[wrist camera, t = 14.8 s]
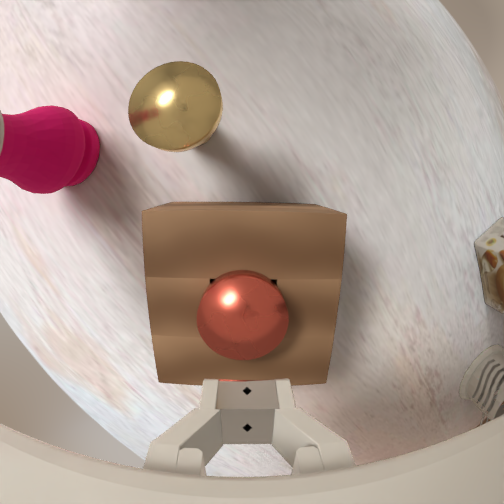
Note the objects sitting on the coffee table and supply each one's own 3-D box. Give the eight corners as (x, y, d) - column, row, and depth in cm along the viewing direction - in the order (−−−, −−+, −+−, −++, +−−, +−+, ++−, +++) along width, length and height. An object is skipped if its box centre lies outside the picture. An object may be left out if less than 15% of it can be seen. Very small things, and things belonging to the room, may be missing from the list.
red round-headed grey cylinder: (211, 243, 25) (194, 277, 16) (273, 244, 25) (291, 278, 16) (212, 302, 26) (198, 359, 17) (271, 302, 26) (285, 359, 17)
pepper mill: (82, 100, 22) (-85, 37, 2) (119, 154, 23) (-83, 130, 4) (35, 152, 22) (-132, 152, 3) (67, 206, 24) (-116, 257, 4)
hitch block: (172, 202, 24) (141, 211, 17) (315, 204, 25) (347, 214, 17) (178, 331, 27) (158, 382, 19) (305, 332, 27) (325, 383, 20)
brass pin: (167, 103, 22) (132, 66, 14) (228, 101, 23) (222, 59, 14) (165, 162, 24) (125, 151, 15) (227, 160, 24) (219, 147, 15)
